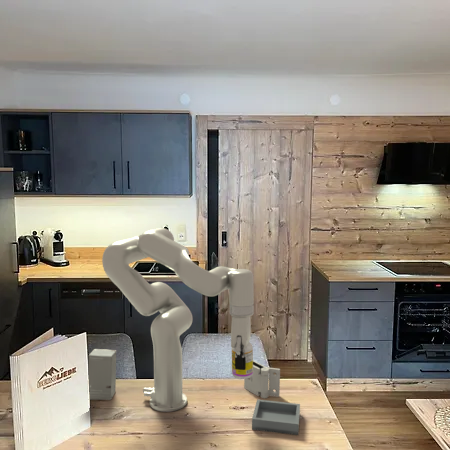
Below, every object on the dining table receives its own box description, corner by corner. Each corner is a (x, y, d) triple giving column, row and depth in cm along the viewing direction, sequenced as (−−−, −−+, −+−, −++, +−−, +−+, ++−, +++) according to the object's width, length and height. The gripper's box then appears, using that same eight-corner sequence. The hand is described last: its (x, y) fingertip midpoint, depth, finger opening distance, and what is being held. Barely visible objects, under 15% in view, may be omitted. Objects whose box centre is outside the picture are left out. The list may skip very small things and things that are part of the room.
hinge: (280, 396, 160) (280, 369, 158) (271, 402, 156) (272, 374, 154) (248, 384, 168) (248, 358, 167) (239, 389, 164) (239, 363, 163)
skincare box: (87, 400, 156) (86, 356, 154) (94, 390, 163) (92, 347, 161) (112, 400, 156) (111, 356, 154) (117, 390, 163) (116, 348, 161)
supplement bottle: (232, 370, 147) (231, 332, 146) (252, 370, 147) (252, 332, 145) (231, 379, 141) (231, 339, 139) (253, 379, 140) (252, 339, 139)
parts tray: (251, 429, 139) (252, 418, 139) (256, 409, 151) (257, 399, 150) (298, 435, 136) (298, 424, 136) (299, 414, 148) (300, 404, 148)
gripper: (234, 300, 150) (235, 352, 153) (224, 317, 134) (225, 375, 136) (257, 301, 149) (257, 354, 151) (249, 318, 132) (250, 377, 134)
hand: (242, 363), depth 143 cm, fingers closed on supplement bottle, 6 cm apart
